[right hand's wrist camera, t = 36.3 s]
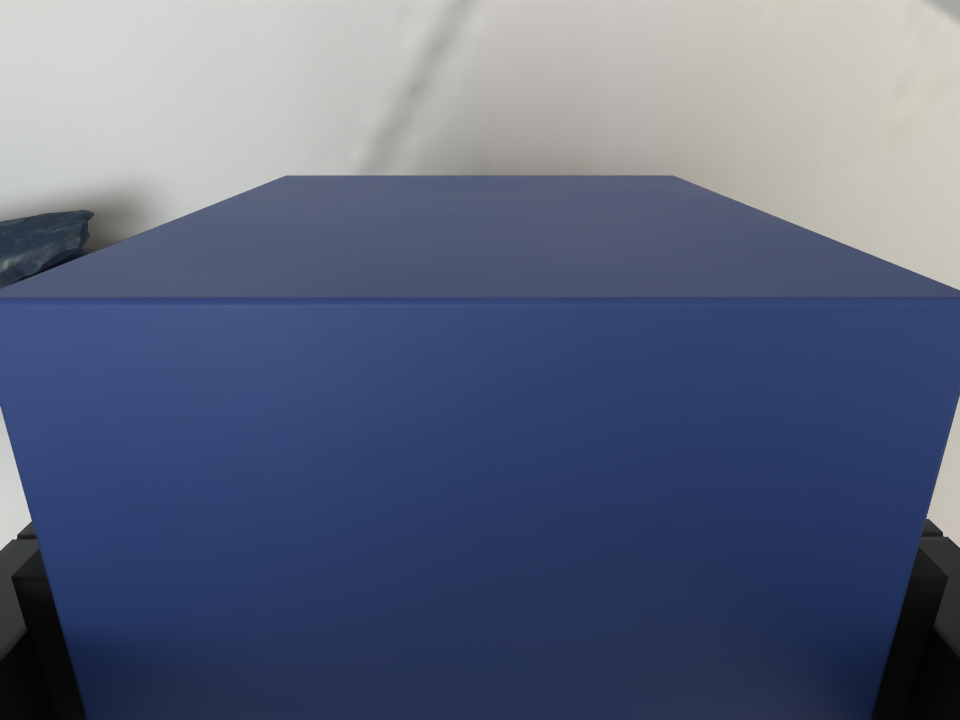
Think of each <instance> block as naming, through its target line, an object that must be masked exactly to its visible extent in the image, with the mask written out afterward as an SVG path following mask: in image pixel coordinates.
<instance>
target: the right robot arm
mask: <svg viewBox="0 0 960 720" xmlns="http://www.w3.org/2000/svg"><path fill="white" fill-rule="evenodd" d="M0 720H87V719H86V716H85V712H84V708H83V705H82V701H81V697H80V694H79V690H78V687H77V683H76V679H75V676H74V672H73V668H72V665H71V661H70V657H69V654H68V650H67V646H66V643H65V639H64V636H63V632H62V628H61V625H60V621H59V617H58V614H57V610H56V606H55V603H54V599H53V595H52V592H51V588H50V585H49V581H48V577H47V574H46V570H45V566H44V563H43V559H42V555H41V552H40V548H39V544H38V541H37V537H36V534H35V530H34V526H33V523H32V522H30V523H29V524H28V525H27V526H26V527H25V528H24V529H23V530H22V531H21V532H20V533H19V534H18V535H17V539H16V540H11V541H10V542H9V543H8V544H7V545H6V546H5V547H4V548H3V549H2V550H1V551H0ZM871 720H960V548H959V547H958V546H957V545H956V544H955V543H954V542H953V541H952V540H951V539H949V538H948V537H943V532H942V531H941V530H940V529H939V528H938V527H937V526H936V525H935V524H933V523H932V522H931V521H930V520H929V519H926V521H925V524H924V528H923V532H922V535H921V539H920V543H919V546H918V550H917V554H916V557H915V561H914V565H913V568H912V572H911V576H910V579H909V583H908V587H907V590H906V594H905V598H904V601H903V605H902V609H901V612H900V616H899V620H898V623H897V627H896V631H895V634H894V638H893V642H892V645H891V649H890V653H889V656H888V660H887V664H886V667H885V671H884V675H883V678H882V682H881V686H880V689H879V693H878V696H877V700H876V704H875V707H874V711H873V715H872V718H871Z"/></svg>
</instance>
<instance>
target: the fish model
mask: <svg viewBox="0 0 960 720" xmlns="http://www.w3.org/2000/svg"><path fill="white" fill-rule="evenodd" d="M93 216H94V213H93V212H91V211H86V210H80V211H70V212H60V213H47V214H42V215H37V216H32V217H27V218H19V219H13V220H7V221H2V222H0V289H2V288H5V287H7V286H10V285H12V284H15V283H17V282H20V281H22V280H25V279H27V278H30V277H32V276H35V275H37V274H40V273H42V272H45V271H47V270H50V269H52V268H55V267H57V266H60V265H63V264H65V263H68V262H70V261H73V260H75V259H78V258H80V257H83V256H85V255H88V254H90V253H93V252H95V251H98V250H91V249H85V248H83V247H81V246H82V245H83V244H84V243H85V242H86V241H87V240H88V238H89V236H90V235H89V233H88V230H87V229H88V220H89V219H90V218H91V217H93Z"/></svg>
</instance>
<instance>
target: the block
mask: <svg viewBox="0 0 960 720" xmlns="http://www.w3.org/2000/svg"><path fill="white" fill-rule="evenodd" d="M959 396H960V290H957V289H955V288H952V287H950V286H947V285H945V284H942V283H940V282H937V281H935V280H932V279H930V278H927V277H925V276H922V275H920V274H917V273H915V272H912V271H910V270H907V269H905V268H902V267H900V266H897V265H895V264H892V263H890V262H887V261H885V260H882V259H880V258H877V257H875V256H872V255H870V254H867V253H865V252H862V251H860V250H857V249H855V248H852V247H850V246H847V245H845V244H842V243H840V242H837V241H835V240H832V239H830V238H827V237H825V236H822V235H820V234H817V233H815V232H813V231H810V230H808V229H805V228H803V227H800V226H798V225H795V224H793V223H790V222H788V221H785V220H783V219H780V218H778V217H775V216H773V215H770V214H768V213H765V212H763V211H760V210H758V209H755V208H753V207H750V206H748V205H745V204H743V203H740V202H738V201H735V200H733V199H730V198H728V197H725V196H723V195H720V194H718V193H715V192H713V191H710V190H708V189H705V188H703V187H700V186H698V185H695V184H693V183H690V182H688V181H685V180H683V179H680V178H678V177H675V176H284V177H282V178H279V179H277V180H274V181H271V182H269V183H266V184H264V185H261V186H259V187H256V188H254V189H251V190H249V191H246V192H244V193H241V194H239V195H236V196H234V197H231V198H229V199H226V200H224V201H221V202H219V203H216V204H214V205H211V206H209V207H206V208H203V209H201V210H198V211H196V212H193V213H191V214H188V215H186V216H183V217H181V218H178V219H176V220H173V221H171V222H168V223H166V224H163V225H161V226H158V227H156V228H153V229H151V230H148V231H146V232H143V233H141V234H138V235H136V236H133V237H130V238H128V239H125V240H123V241H120V242H118V243H115V244H113V245H110V246H108V247H105V248H103V249H100V250H98V251H95V252H93V253H90V254H88V255H85V256H83V257H80V258H78V259H75V260H73V261H70V262H68V263H65V264H63V265H60V266H57V267H55V268H52V269H50V270H47V271H45V272H42V273H40V274H37V275H35V276H32V277H30V278H27V279H25V280H22V281H20V282H17V283H15V284H12V285H10V286H7V287H5V288H2V289H0V406H1V410H2V413H3V417H4V421H5V424H6V428H7V431H8V435H9V439H10V442H11V446H12V450H13V453H14V457H15V461H16V464H17V468H18V472H19V475H20V479H21V483H22V486H23V490H24V493H25V497H26V501H27V504H28V508H29V512H30V515H31V519H32V523H33V526H34V530H35V534H36V537H37V541H38V544H39V548H40V552H41V555H42V559H43V563H44V566H45V570H46V574H47V577H48V581H49V585H50V588H51V592H52V595H53V599H54V603H55V606H56V610H57V614H58V617H59V621H60V625H61V628H62V632H63V636H64V639H65V643H66V646H67V650H68V654H69V657H70V661H71V665H72V668H73V672H74V676H75V679H76V683H77V687H78V690H79V694H80V697H81V701H82V705H83V708H84V712H85V716H86V719H87V720H871V718H872V715H873V711H874V707H875V704H876V700H877V696H878V693H879V689H880V686H881V682H882V678H883V675H884V671H885V667H886V664H887V660H888V656H889V653H890V649H891V645H892V642H893V638H894V634H895V631H896V627H897V623H898V620H899V616H900V612H901V609H902V605H903V601H904V598H905V594H906V590H907V587H908V583H909V579H910V576H911V572H912V568H913V565H914V561H915V557H916V554H917V550H918V546H919V543H920V539H921V535H922V532H923V528H924V524H925V521H926V517H927V513H928V510H929V506H930V502H931V499H932V495H933V491H934V488H935V484H936V480H937V477H938V473H939V469H940V466H941V462H942V458H943V455H944V451H945V447H946V444H947V440H948V436H949V433H950V429H951V425H952V422H953V418H954V414H955V411H956V407H957V403H958V400H959Z"/></svg>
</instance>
